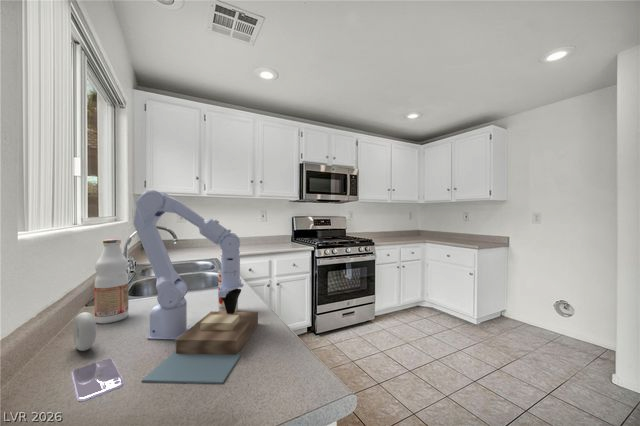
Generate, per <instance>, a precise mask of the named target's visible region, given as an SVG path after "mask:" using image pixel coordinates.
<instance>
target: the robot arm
mask: <svg viewBox="0 0 640 426" xmlns="http://www.w3.org/2000/svg"><path fill="white" fill-rule="evenodd" d="M135 206H136V208H135V212H134V217H133V226H134V228H135V231H136V233H137V236H138V239H139V240H140V243H141V244H142V247H143V250H144V252H145V254H146V257H147V259H148V262H149V264H150V266H151V269H152V271H153V273H154V276H155V279H156V283H155V289H156V291H157V297H156V299H157V303H158V304H156V305H155V306H153V308H152V309H151V310H150V313H149V336H147V339H148V340H176V339H177V338H179V337H180V336H181V335H182V334H184V333H185V332H186V331H187V330H189V329H190V328H191V327H192V326H187V325H188V324H187V320H188V319H187V316H188V313H187V309H188V307H187V304H188V303H187V299H186V297H185V296H186V295H187V294H188V291H189V290H188V289H189V286H188V284H187V283H186V282H185V281H184V280H183V279H182V277H181V276H180V274H179V273H178V272H177V271H176V269H175V268H174V265H173V262H172V260H171V258H170V255H169V253H168V251H167V249H166V246H165V244H164V241H163V239H162V237H161V234H160V231H159V228H158V226H157V223H158V221H159V220H160V219H161V217H162V216H163V214H165V213H172V214H175V215H177V216H179V217H181V218H182V219H184V220H186V221H188V222H189V223H190V224H192V225H194V226H195V227H197V228H198V230H199V234H200V235H201V236H203V237H205V239H208V240H209V241H211V242H212V243H214V244H215V245H219V247H220V249H221V259H220V261H221V263H220V264H221V266H220V267H221V287H220V290H219V291H218V290H217V291H218V293H217V294H218V297H217V298H219V297H221V298H222V300H223V302H224V304H225V308H226V312H227V314H233V313H234V312H235V309H236V304H237V300H238V301H239V297H240V294H241V293H242V289H241V288H243V287H244V283H242V278H241V256H240V255H241V254H240V252H241V251H240V247H241V246H240V245H241V240H240V237H239V236H238V235H237V234H236V233H234V232H232V230H231V229H227V228H226V227H224V226H223V225H221V224H220V221H219V220H218V219H215V220H214V219H213V218H210V219H205V218H204V217H203V216H201V215H200V214H198V213H197V212H195V211H194V210H193V209H192V208H190V207H189V206H187V205H186V204H184V203H183V202H181V201H180V200H178V199H177V198H175V197H172V196H170V195H169V194H167V193H166V192H160V191H157V190H154V189H149V190H145V191H143V192H142V193H141V194H140V195H139V197H138V198H137V199H136V201H135ZM237 288H238V289H237Z"/></svg>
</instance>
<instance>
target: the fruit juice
mask: <svg viewBox="0 0 640 426" xmlns="http://www.w3.org/2000/svg"><path fill="white" fill-rule="evenodd" d="M121 242H122V240H121V239H120V238H112V239H111V238H109V239H103V240H102V243H103V249H102V252H101V254H100V255H99V258H98V259H97V260H96V262H95V266H94V268H95V272H96V277H95V279H94V319H95V323H96V324H110V323H115V322H119V321H122V320H124V319H126V318H127V317H128V316H129V275H128V272H127V270H128V266H129V261H128V259H127V258H126V256H125V255H124V253H123V250H122V248H121Z"/></svg>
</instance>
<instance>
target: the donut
mask: <svg viewBox="0 0 640 426" xmlns="http://www.w3.org/2000/svg"><path fill="white" fill-rule="evenodd" d="M96 324H97V323H96V322H95V316H94V315H93V314H92V313H91V312H87V311H83V312H81V313H78V315H77V316H76V317H75V318H74V321H73V327H72V330H73V331H72V334H73V336H72V337H73V343H74V345H75V348H76V349H77V350H79V351H81V352H85V351H88V350H89V349H90V348H92V347H93V346H94V344H95V341H96V338H97V325H96Z"/></svg>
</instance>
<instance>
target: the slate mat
mask: <svg viewBox="0 0 640 426" xmlns="http://www.w3.org/2000/svg"><path fill="white" fill-rule="evenodd" d="M241 356H242V352H239V353H237V355H229V354H176V351H174V352H172V353H171V354H170V355H168V356H167V358H165V359H164V360H163V361H162V362H161V363H160V364H159V365H157V366H156V367H155V368H154V369H153V370H151V371H150V373H148V374H147V375H146V376H145V377H144V378H142V379H141V383H171V384H172V383H173V384H175V383H176V384H219V385H221V384H222V385H223V384H224V383H225V381H226V380H227V378H228V376H229V375H230V373H231V372H232V371H233V368H234V367H235V366H236V364H237V362H238V361H239V360H240V357H241Z"/></svg>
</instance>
